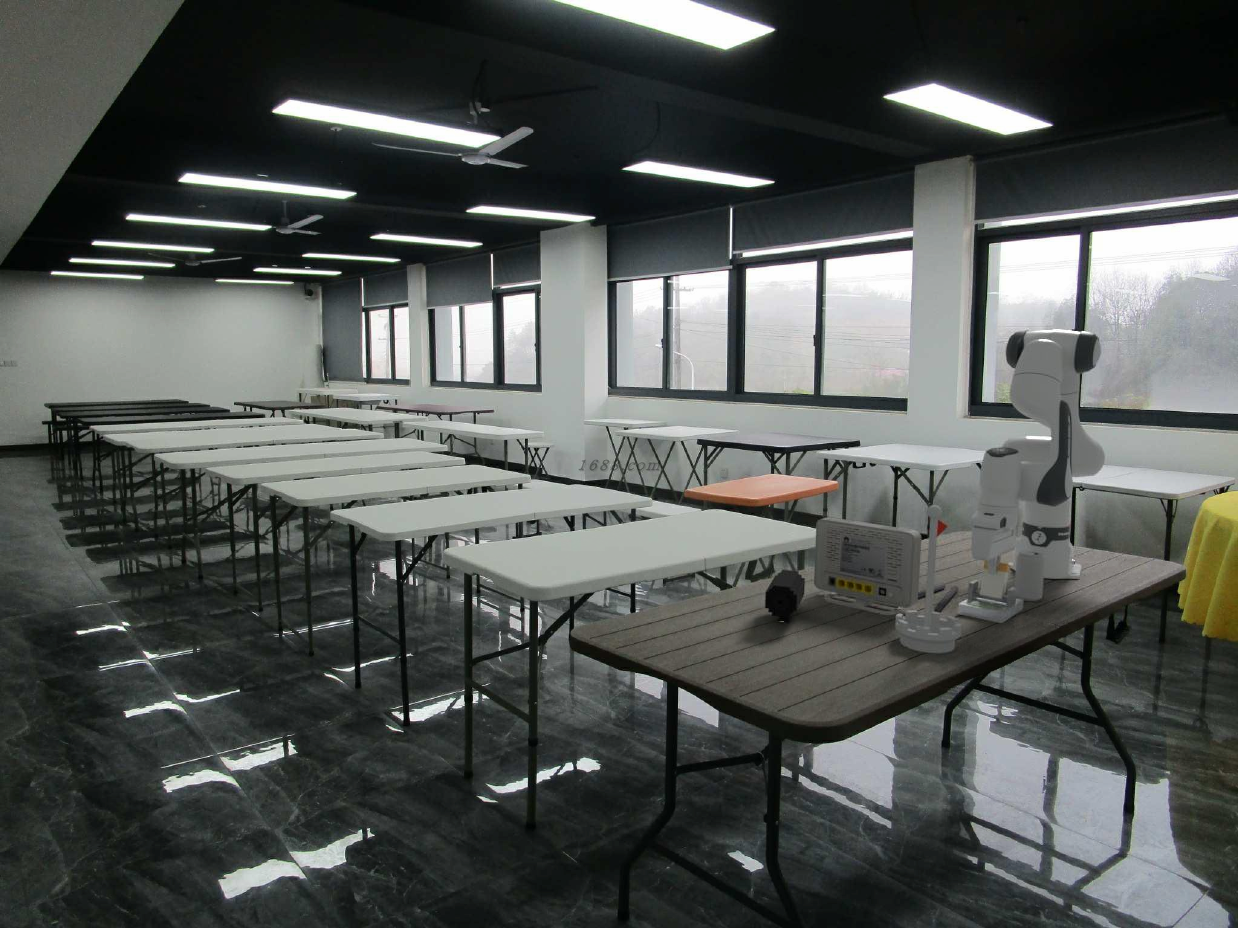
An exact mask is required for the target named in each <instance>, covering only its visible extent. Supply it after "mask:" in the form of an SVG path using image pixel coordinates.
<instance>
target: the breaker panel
mask: <svg viewBox="0 0 1238 928" xmlns="http://www.w3.org/2000/svg"><path fill="white" fill-rule="evenodd" d="M1016 590H1017V588H1015V586H1011V587H1010V588H1008V589H1006V596H1007V600H1006V603H1002V602H997V601H992V600H987V599H982V598H977V597H975V593H976V591H979V580H977V579H976V580H975V579H973V580H972V581H970V582H968V591H967V592H968V593H967V598H966V599H965V600H962V601H961V602H959V603H958V608H957V614H958V615H962V616H967V617H971V618H975V619H979V620H984V621H990V622H994V623H998V624H1004V622H1007V620H1009V619H1011V618H1013V616H1015V615H1016V614H1018V613H1020V612H1021V611H1022V610H1024V602H1025V601H1024V599H1020V598H1017V597H1016Z"/></svg>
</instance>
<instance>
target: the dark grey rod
mask: <svg viewBox="0 0 1238 928" xmlns="http://www.w3.org/2000/svg"><path fill="white" fill-rule="evenodd" d="M958 590H959V587H958V586H957V585H954V586H952V587H951V588H950V590H949V591H948V592H947V593H946V594H945V595H944V596H943V598H941V600H939V602H938V603H937V605H935V607H933V612H938V613H941V612H940V611H941V610H943V609H944V607H945V606H946V604H947V603H949V601H950V600H951V599H952V598H953V596H954V595H955V594H956V593H957V592H958Z"/></svg>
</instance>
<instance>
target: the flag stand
mask: <svg viewBox="0 0 1238 928" xmlns="http://www.w3.org/2000/svg"><path fill="white" fill-rule="evenodd" d="M926 514H927V516H928V517H929V533H928V534H929V535H928V536H929V538H928V549H927V551H928V552H927V553H928V554H927V569H926V584H925V585H926V587H925V589H926V595H925V603H924V604H925V606H924V615H919V612H918V611H917V610H915V609H913V610H905V615H904V613H901V612H900V613H898V614H895V626H894V628H895V630H897V631H898V633H899V643H900V642H901V643H900V644H901V645H902V646H903V647H905V646H906V647H905V648H907V647H908V648H907V649H909V650H913V651H917V652H922V653H928V654H929V653H930V654H944V653H950V652H952V651H954V650H955V647H956V640H957V639H958V638H960V637H961V636H962V623H961V622H959V619H958V618H956V617H955V616H953V615H948V616H947V618H941V612H935V611H934V593H935V592H934V586H935V576H936V575H935V574H936V558H937V557H936V556H937V543H938V542H937V540H938V537H939V536H940V535H941V534H942V533H943V532H944V531H946V529H947V528H948V527H949V525H947V524H945V523H944V522H943V521H941V520H939V518H941V516H942V514H943V511H942V508H941V507H940V506H939V505H936V504H932V505H930V506H928V508H927V510H926Z"/></svg>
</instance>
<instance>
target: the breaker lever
mask: <svg viewBox="0 0 1238 928" xmlns="http://www.w3.org/2000/svg"><path fill="white" fill-rule="evenodd" d="M1010 569H1011V568H1010V565H1009V564H1008V563H1003V562H1000V564H999V567H998V573H996V574H989V573H988V565H987V561H984V563H983V573H982V579H981V583H980V589H979V590H978V591H976V593H975V597H977V598H982V599H987V600H992V601H997V602H1002V603H1006V600H1007V595H1006V592H1007V584H1008V579H1009V574H1010Z"/></svg>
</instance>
